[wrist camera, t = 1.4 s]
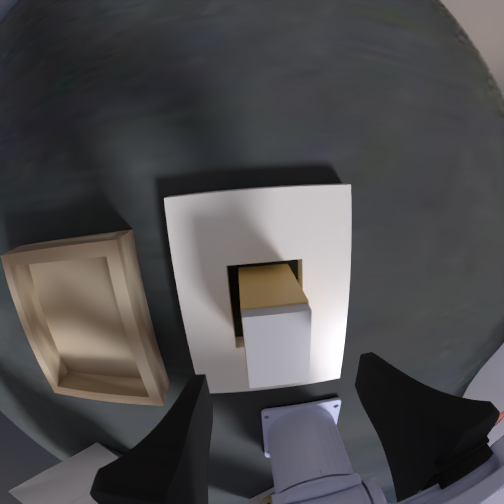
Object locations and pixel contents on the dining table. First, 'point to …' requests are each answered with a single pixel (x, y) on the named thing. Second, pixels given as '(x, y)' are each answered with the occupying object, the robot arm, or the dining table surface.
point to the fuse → (274, 326)
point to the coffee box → (263, 497)
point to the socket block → (259, 251)
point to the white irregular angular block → (67, 479)
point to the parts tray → (88, 317)
